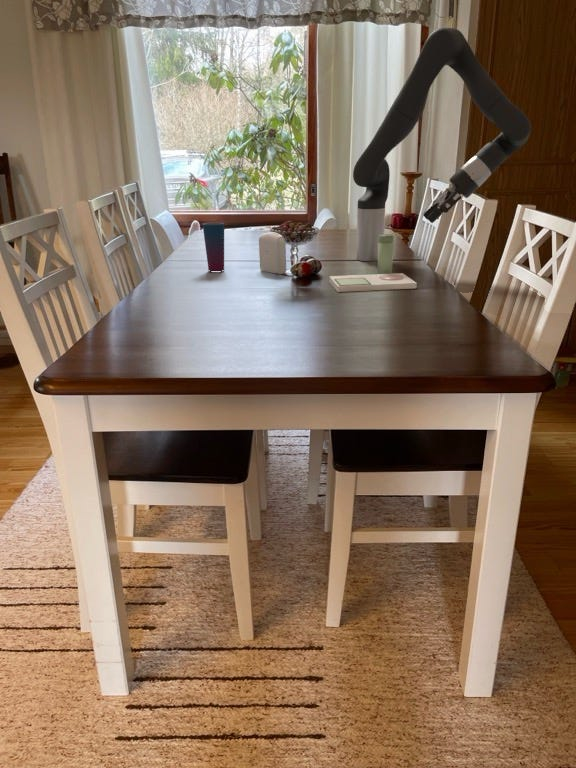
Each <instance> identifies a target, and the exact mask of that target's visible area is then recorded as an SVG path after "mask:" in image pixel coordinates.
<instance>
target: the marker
mask: <svg viewBox="0 0 576 768" xmlns="http://www.w3.org/2000/svg"><path fill="white" fill-rule="evenodd" d="M394 237H395V236H394V234H385V233H384V234H382V235H379V242H378V261H377V271H376V274H393V261H394V258H393V257H394Z"/></svg>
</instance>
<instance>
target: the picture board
mask: <svg viewBox="0 0 576 768" xmlns="http://www.w3.org/2000/svg"><path fill="white" fill-rule="evenodd" d="M328 280H329V281H328V282H329V283H330V284H331V286H333V288H334V289H335V290H336V291H337V292H338V293H341V292H343V293H346V292H364V291H385V290H387V291H388V290H409V289H417V284H418V283H417V282H416V281H414V280H413V279H412V278H410V277H409V276H407V275H406V274H405V273H402V272H401V273H400V272H399V273H394V272H393V273H392V274H377V273H376V274H375V273H374V274H373V273H372V274H354V275H353V274H352V275H330V276H329V277H328Z"/></svg>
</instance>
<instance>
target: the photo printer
mask: <svg viewBox="0 0 576 768" xmlns="http://www.w3.org/2000/svg"><path fill="white" fill-rule="evenodd" d="M286 248H287V246H286V239H285V237H284V236H283V235H281V234H280V233H277V232H275V231H274V232H273V231H269V232H264V233H261V234H260V236H259V238H258V251H259V268H260V271H263V272H268V273H273V274H277V275H283V274H286V272H287V252H286V251H287V249H286Z"/></svg>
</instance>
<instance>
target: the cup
mask: <svg viewBox="0 0 576 768" xmlns="http://www.w3.org/2000/svg"><path fill="white" fill-rule="evenodd" d="M202 230H203V237H204V244H205V253H206V260H207V267H208V268H207V269H208V271H209V270H210V271H222V270H224V271H225V223H224V222H213V221H212V222H204V223H202Z"/></svg>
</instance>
